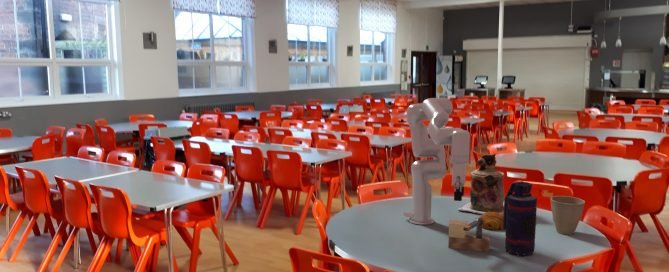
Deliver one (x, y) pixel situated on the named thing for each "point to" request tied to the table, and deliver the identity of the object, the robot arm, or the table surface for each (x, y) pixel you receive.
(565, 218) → the plant pot
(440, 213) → the table surface
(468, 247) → the plane body
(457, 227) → the brushed brass block
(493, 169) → the cookie jar
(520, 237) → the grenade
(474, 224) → the lever
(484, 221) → the croissant
